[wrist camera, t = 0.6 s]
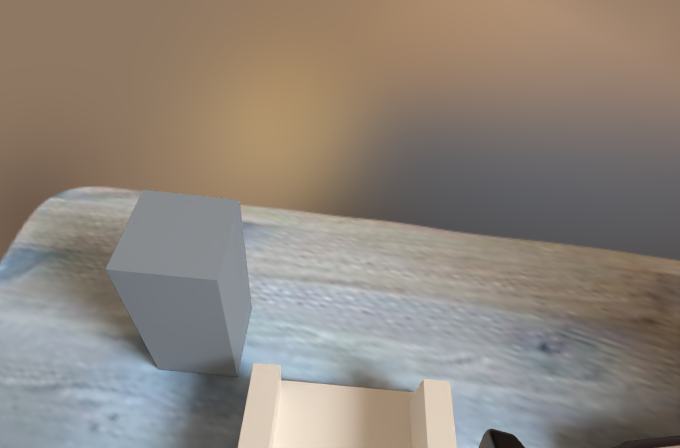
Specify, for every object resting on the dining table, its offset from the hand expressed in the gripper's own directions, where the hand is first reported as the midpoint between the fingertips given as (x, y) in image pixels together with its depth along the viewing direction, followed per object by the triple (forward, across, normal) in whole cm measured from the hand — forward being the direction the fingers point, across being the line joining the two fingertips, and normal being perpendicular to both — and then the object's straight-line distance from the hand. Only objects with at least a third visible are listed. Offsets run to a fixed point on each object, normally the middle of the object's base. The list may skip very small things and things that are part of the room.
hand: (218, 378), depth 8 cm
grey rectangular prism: (+14, +5, +10) cm, 18 cm away
